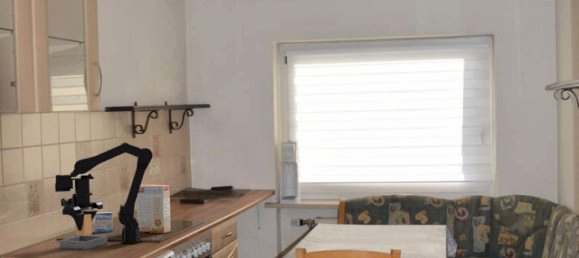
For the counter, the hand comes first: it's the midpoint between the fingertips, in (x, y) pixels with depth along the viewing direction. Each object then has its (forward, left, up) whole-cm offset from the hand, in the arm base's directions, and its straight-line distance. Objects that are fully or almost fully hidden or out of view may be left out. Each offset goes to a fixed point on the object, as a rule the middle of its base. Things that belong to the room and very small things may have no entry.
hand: (83, 229), depth 284 cm
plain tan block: (0, 0, -2) cm, 2 cm away
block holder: (0, 0, -6) cm, 7 cm away
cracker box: (-10, -36, -7) cm, 38 cm away
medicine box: (+13, -31, -7) cm, 34 cm away
